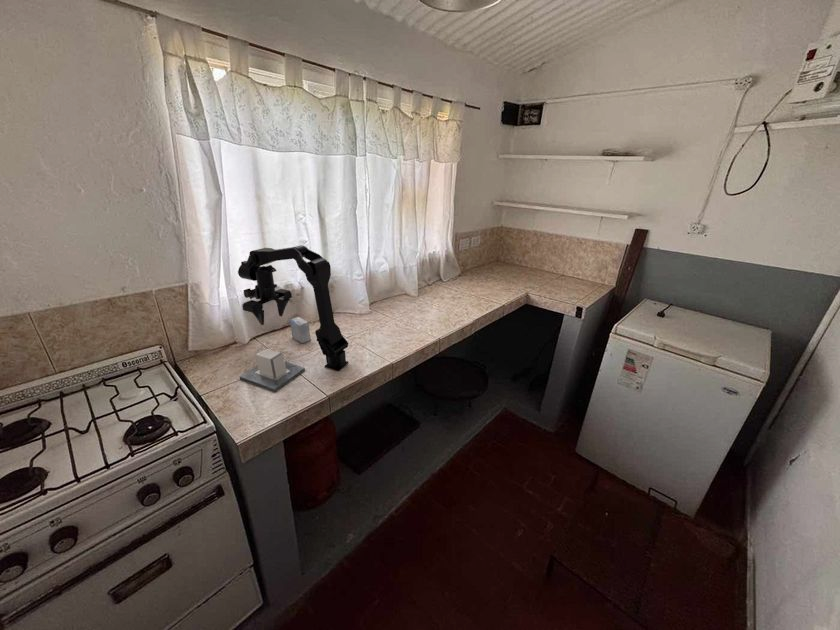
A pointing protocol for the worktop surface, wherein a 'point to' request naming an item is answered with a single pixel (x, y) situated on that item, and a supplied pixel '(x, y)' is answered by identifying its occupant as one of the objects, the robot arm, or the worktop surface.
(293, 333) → the medicine box
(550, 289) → the worktop surface
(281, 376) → the duct plate
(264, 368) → the light grey block
